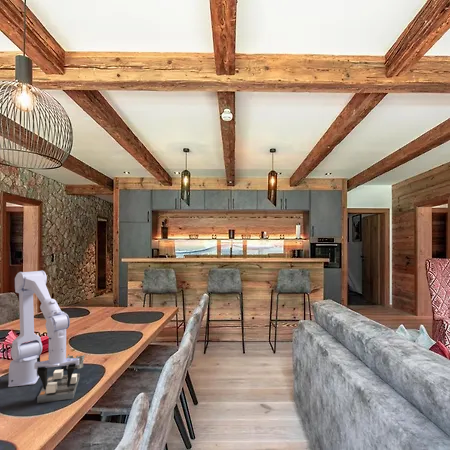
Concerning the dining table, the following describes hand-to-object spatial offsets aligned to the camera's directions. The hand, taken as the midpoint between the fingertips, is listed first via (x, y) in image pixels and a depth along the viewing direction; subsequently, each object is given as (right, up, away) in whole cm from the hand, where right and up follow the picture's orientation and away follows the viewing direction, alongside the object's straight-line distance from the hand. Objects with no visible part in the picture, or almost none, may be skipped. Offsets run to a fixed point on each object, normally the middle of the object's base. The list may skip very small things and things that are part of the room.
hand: (57, 386), depth 127 cm
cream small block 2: (+2, -2, +7) cm, 8 cm away
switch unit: (-2, -4, +6) cm, 7 cm away
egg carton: (-7, -5, +32) cm, 33 cm away
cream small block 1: (-2, -1, 0) cm, 2 cm away
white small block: (-5, -2, +12) cm, 13 cm away
